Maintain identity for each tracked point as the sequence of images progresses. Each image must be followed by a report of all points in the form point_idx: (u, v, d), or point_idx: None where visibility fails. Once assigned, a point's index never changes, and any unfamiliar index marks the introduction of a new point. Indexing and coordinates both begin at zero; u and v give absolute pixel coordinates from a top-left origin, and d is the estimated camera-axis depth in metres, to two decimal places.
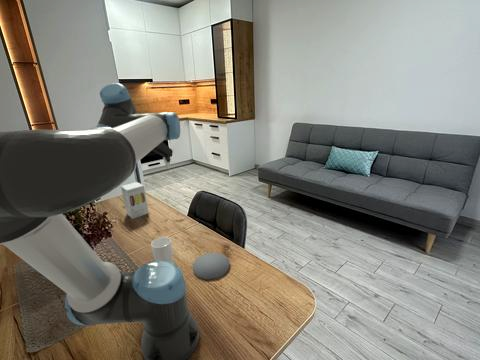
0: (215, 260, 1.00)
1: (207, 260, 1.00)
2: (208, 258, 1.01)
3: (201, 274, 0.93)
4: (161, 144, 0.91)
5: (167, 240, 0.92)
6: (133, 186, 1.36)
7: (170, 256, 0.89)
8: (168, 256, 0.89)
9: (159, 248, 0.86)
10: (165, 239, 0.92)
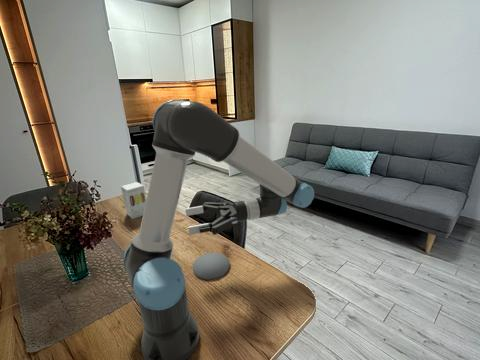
0: (215, 260, 1.00)
1: (207, 260, 1.00)
2: (208, 258, 1.01)
3: (201, 274, 0.93)
4: (228, 223, 0.85)
5: None
6: (133, 186, 1.36)
7: None
8: None
9: None
10: None
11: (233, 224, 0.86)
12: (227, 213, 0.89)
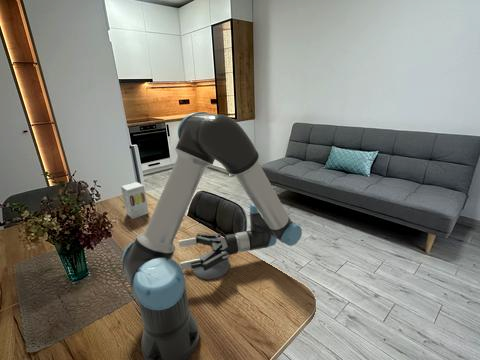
0: None
1: None
2: None
3: (201, 274, 0.93)
4: (219, 258, 0.89)
5: None
6: (133, 186, 1.36)
7: None
8: None
9: None
10: None
11: (224, 259, 0.90)
12: (218, 247, 0.93)
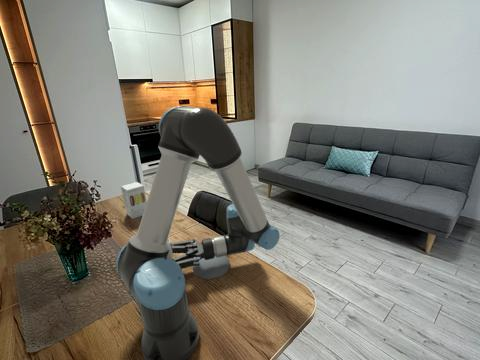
0: (215, 260, 1.00)
1: (207, 260, 1.00)
2: None
3: (201, 274, 0.93)
4: (188, 263, 0.87)
5: (167, 240, 0.92)
6: (133, 186, 1.36)
7: (170, 256, 0.89)
8: (168, 256, 0.88)
9: None
10: None
11: (194, 264, 0.88)
12: (192, 252, 0.91)
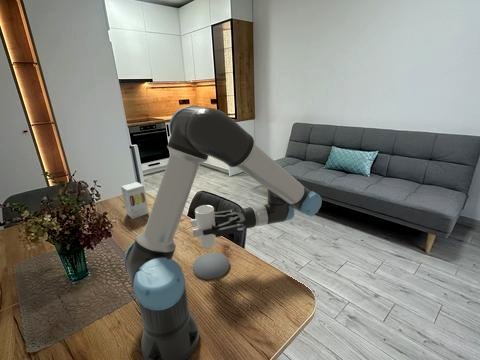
0: (215, 260, 1.00)
1: (207, 260, 1.00)
2: (208, 258, 1.01)
3: (201, 274, 0.93)
4: (233, 229, 0.88)
5: (209, 208, 0.92)
6: (133, 186, 1.36)
7: (213, 223, 0.90)
8: (212, 223, 0.89)
9: (204, 214, 0.86)
10: (207, 207, 0.92)
11: (238, 231, 0.89)
12: (234, 219, 0.92)
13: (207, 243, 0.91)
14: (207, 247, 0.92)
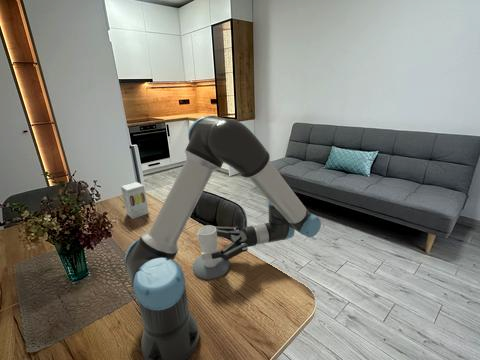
0: None
1: None
2: None
3: (201, 274, 0.93)
4: (239, 250, 0.90)
5: (212, 228, 0.96)
6: (133, 186, 1.36)
7: (216, 243, 0.93)
8: (214, 243, 0.92)
9: (207, 235, 0.90)
10: (210, 227, 0.96)
11: (243, 250, 0.91)
12: (238, 239, 0.94)
13: (210, 262, 0.95)
14: (210, 266, 0.95)
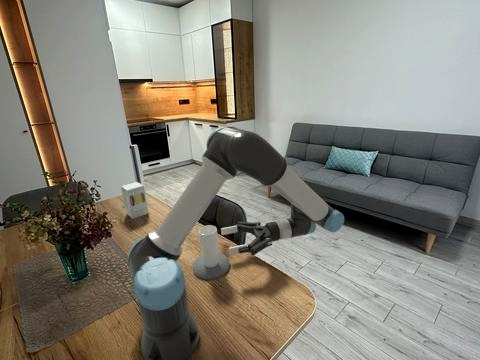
0: None
1: None
2: None
3: (201, 274, 0.93)
4: (265, 244, 0.92)
5: (212, 228, 0.96)
6: (133, 186, 1.36)
7: (216, 243, 0.93)
8: (215, 243, 0.92)
9: (207, 235, 0.90)
10: (210, 227, 0.96)
11: (268, 245, 0.94)
12: (262, 234, 0.96)
13: (210, 262, 0.95)
14: (210, 266, 0.95)
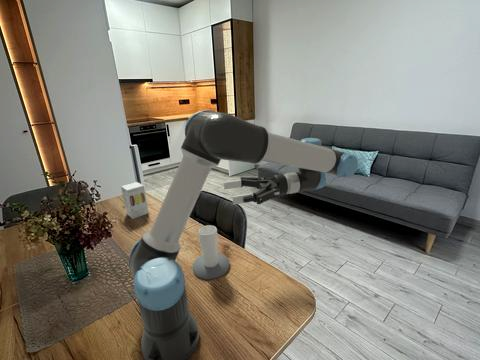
0: None
1: None
2: None
3: (201, 274, 0.93)
4: (271, 194, 0.85)
5: (212, 228, 0.95)
6: (133, 186, 1.36)
7: (216, 243, 0.93)
8: (215, 243, 0.92)
9: (207, 235, 0.90)
10: (210, 227, 0.96)
11: (275, 195, 0.86)
12: (268, 185, 0.89)
13: (210, 262, 0.95)
14: (210, 266, 0.95)
